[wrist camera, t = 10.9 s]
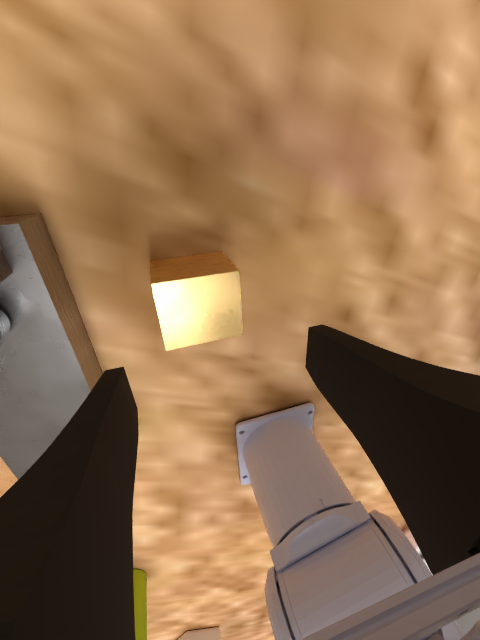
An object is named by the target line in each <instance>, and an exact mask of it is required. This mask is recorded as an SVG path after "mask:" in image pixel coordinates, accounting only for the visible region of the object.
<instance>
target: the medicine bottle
mask: <svg viewBox="0 0 480 640" xmlns="http://www.w3.org/2000/svg"><path fill="white" fill-rule="evenodd" d="M178 640H221V636H220V630H219V627H213V628H206V629H199V630H191V631H186V632H185V633H184V634H183V635H182V636H181V637H180V638H179V639H178Z"/></svg>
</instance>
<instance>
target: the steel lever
mask: <svg viewBox="0 0 480 640" xmlns="http://www.w3.org/2000/svg"><path fill="white" fill-rule="evenodd" d="M9 331H10V321H9V319H8V317H7V316H6V314H5V313H4V312H3V311H2V310H0V343H1V342H2V341H3V340H4V338H5V337H6V336H7V335H8V333H9Z"/></svg>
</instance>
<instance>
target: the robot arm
mask: <svg viewBox="0 0 480 640" xmlns="http://www.w3.org/2000/svg"><path fill="white" fill-rule="evenodd" d="M306 369H307V371H308V372H309V374H310V376H311V378H312V380H313V381H314V383H315V385H316V386H317V388H318V389H319V390H320V392H321V393H322V394H323V396H324V397H325V398H326V400H327V401H328V402H329V403H330V405H331V406H332V407H333V409H334V410H335V411H336V412H337V414H338V415H339V416H340V418H341V419H342V420H343V421H344V423H345V424H346V425H347V426H348V428H349V429H350V430H351V432H352V433H353V434H354V436H355V437H356V439H357V440H358V442H359V443H360V445H361V446H362V448H363V449H364V451H365V453H366V454H367V456H368V457H369V459H370V460H371V462H372V464H373V465H374V467H375V469H376V470H377V472H378V474H379V475H380V477H381V479H382V480H383V482H384V484H385V486H386V487H387V489H388V491H389V492H390V494H391V496H392V498H393V500H394V501H395V503H396V505H397V507H398V509H399V511H400V512H401V514H402V516H403V518H404V520H405V521H406V523H407V525H408V527H409V529H410V531H411V533H412V535H413V537H414V539H415V541H416V543H417V545H418V547H419V549H420V551H421V552H422V555H423V557H424V559H425V561H426V563H427V565H428V567H429V569H430V571H431V573H432V574H433V576H432V574H431V573H430V571H429V569H428V568H427V566H426V565H425V563H424V562H423V560H422V558H421V557H420V555H419V554H418V553H417V551H416V550H415V548H414V547H413V545H412V544H411V543H410V541H409V540H408V538H407V537H406V536H405V534H404V533H403V532H402V531H401V529H400V528H399V527H398V526H397V524H396V523H395V522H394V521H393V520H392V519H391V518H390V517H389V516H387V515H385V514H382V513H380V512H379V511H377V510H373V511H371V512H369V513H368V512H367V511H366V509H365V508H364V506H363V505H362V503H361V501H357V502H356V501H355V499H354V498H353V496H352V495H351V493H350V491H349V490H348V488H347V487H346V485H345V483H344V482H343V480H342V479H341V477H340V476H339V474H338V472H337V471H336V469H335V468H334V466H333V464H332V463H331V461H330V460H329V458H328V456H327V455H326V453H325V452H324V450H323V449H322V447H321V445H320V444H319V442H318V441H317V439H316V437H315V436H314V434H313V433H312V428H313V419H314V411H315V406H314V405H313V403H307V404H303V405H300V406H296V407H293V408H289V409H285V410H282V411H278V412H275V413H271V414H268V415H264V416H261V417H257V418H253V419H250V420H246V421H243V422H240V423H238V424H237V425H236V427H235V429H236V440H237V451H238V463H239V474H240V482H241V485H247V484H250V483H251V486H252V489H253V492H254V495H255V498H256V501H257V504H258V507H259V510H260V513H261V516H262V519H263V522H264V525H265V528H266V531H267V534H268V536H269V539H270V541H271V543H272V545H273V547H274V548H273V549H272V550H270V554H271V557H272V560H273V563H274V567H272V568H270V569H269V570H268V572H267V579H266V583H265V598H266V604H267V609H268V614H269V618H270V622H271V626H272V629H273V633H274V636H275V640H480V620H479V621H477V622H476V623H475V625H474V626H473V628H472V629H471V630H470V631H469V632H468V633H467V634H466V635H464V633H463V631H462V630H461V628H460V626H459V625H458V623H457V621H456V620H457V619H459V618H460V617H462V616H464V615H466V614H467V613H470V612H471V611H473V610H475V609H477V608H479V607H480V376H479V375H474V374H469V373H465V372H460V371H456V370H451V369H447V368H443V367H439V366H435V365H432V364H428V363H425V362H422V361H418V360H415V359H411V358H408V357H405V356H402V355H399V354H397V353H394V352H391V351H388V350H385V349H383V348H380V347H378V346H375V345H373V344H370V343H368V342H365V341H363V340H360V339H358V338H355V337H353V336H351V335H348V334H346V333H343V332H341V331H338V330H336V329H333V328H331V327H328V326H325V325H318V326H313V327H309V330H308V342H307V355H306ZM137 447H138V412H137V406H136V403H135V400H134V397H133V394H132V391H131V388H130V385H129V382H128V379H127V376H126V373H125V370H124V367H120V368H115V369H110V370H106V371H104V373H103V374H102V376H101V377H100V378H99V380H98V381H97V383H96V384H95V386H94V387H93V389H92V390H91V392H90V393H89V394H88V396H87V397H86V399H85V400H84V402H83V403H82V404H81V406H80V407H79V409H78V410H77V411H76V413H75V414H74V415H73V417H72V418H71V420H70V421H69V422H68V424H67V425H66V426H65V427H64V429H63V430H62V431H61V432H60V434H59V435H58V436H57V437H56V439H55V440H54V441H53V442H52V444H51V445H50V446H49V447H48V448H47V449H46V451H45V452H44V453H43V454H42V455H41V456H40V457H39V459H38V460H37V461H36V462H35V463H34V464H33V465H32V466H31V467H30V468H29V469H28V470H27V471H26V473H25V474H24V475H23V476H22V477H21V478H20V479H19V480H18V481H17V482H16V483H15V484H14V485H13V486H12V487H11V488H10V489H9V490H8V491H7V492H6V493H5V494H4V495H3V496H2V497H0V640H136V639H135V614H134V587H133V538H132V510H133V493H134V482H135V470H136V459H137Z"/></svg>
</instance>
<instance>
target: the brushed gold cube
mask: <svg viewBox="0 0 480 640" xmlns="http://www.w3.org/2000/svg"><path fill="white" fill-rule="evenodd" d="M150 274H151V287H152V291H153V295H154V300H155V304H156V309H157V313H158V317H159V322H160V326H161V330H162V335H163V339H164V344H165V348H166V351H167V350H172V349H177V348H182V347H187V346H192V345H196V344H201V343H206V342H211V341H216V340H220V339H225V338H230V337H235V336H240V335H243V326H242V309H241V291H240V274H239V270H238V269H237V268H236V266H235V265H234V264H233V263H232V262H231V261H230V260H229V259H228V257H227V256H226V255H225V254H224V253H223V252H214V253H207V254H200V255H192V256H185V257H178V258H170V259H163V260H156V261H150Z"/></svg>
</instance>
